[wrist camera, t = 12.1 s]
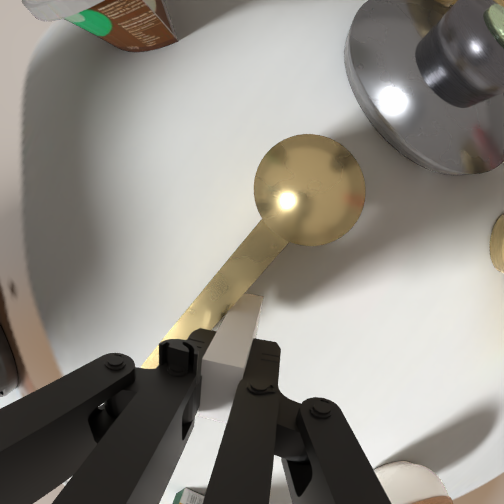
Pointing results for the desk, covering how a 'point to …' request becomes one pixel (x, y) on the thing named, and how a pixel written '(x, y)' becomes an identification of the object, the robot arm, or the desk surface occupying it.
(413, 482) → the lidded jar
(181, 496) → the crayon box
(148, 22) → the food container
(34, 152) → the desk surface
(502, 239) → the gold lever handle
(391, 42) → the base
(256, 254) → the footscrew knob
